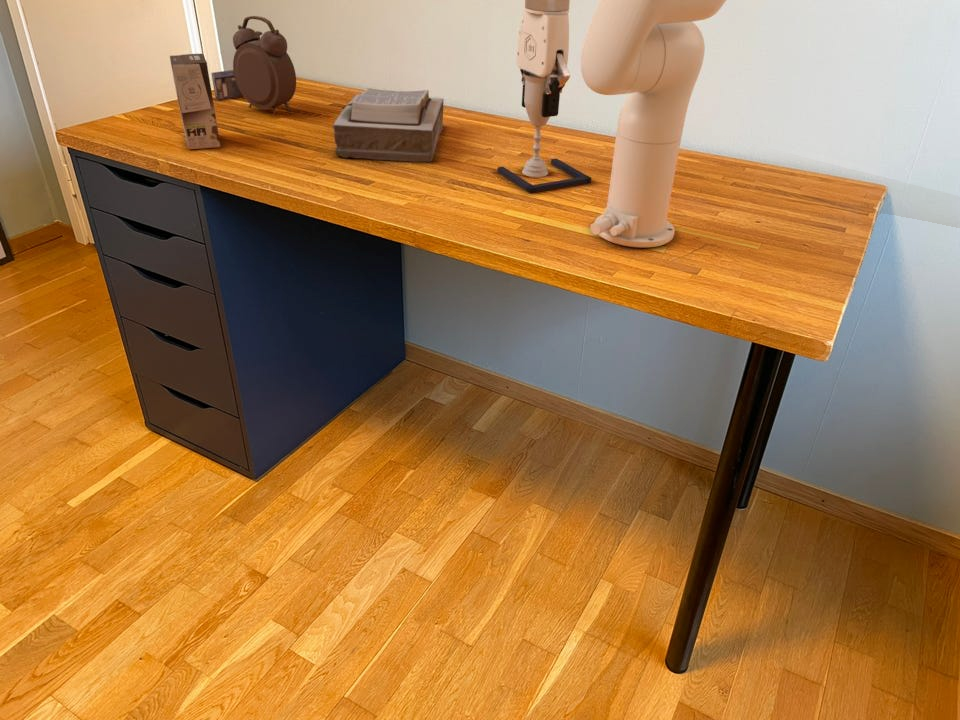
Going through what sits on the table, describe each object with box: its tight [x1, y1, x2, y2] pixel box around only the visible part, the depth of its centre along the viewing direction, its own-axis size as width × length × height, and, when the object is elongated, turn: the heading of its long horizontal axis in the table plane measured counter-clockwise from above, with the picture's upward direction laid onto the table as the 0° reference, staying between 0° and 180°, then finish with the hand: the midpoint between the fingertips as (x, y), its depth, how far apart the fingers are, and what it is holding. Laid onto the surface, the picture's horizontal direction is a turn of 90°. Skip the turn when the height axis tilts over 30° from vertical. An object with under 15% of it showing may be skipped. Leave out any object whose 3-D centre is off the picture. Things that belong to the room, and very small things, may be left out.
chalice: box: [521, 71, 556, 178], centre depth 135 cm, size 7×7×18 cm
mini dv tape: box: [211, 69, 244, 101], centre depth 177 cm, size 8×2×6 cm, turn 130°
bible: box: [332, 87, 445, 163], centre depth 150 cm, size 23×27×10 cm
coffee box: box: [169, 53, 221, 150], centre depth 145 cm, size 9×6×16 cm
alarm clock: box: [232, 15, 297, 115], centre depth 164 cm, size 15×7×20 cm, turn 58°
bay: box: [497, 158, 592, 194], centre depth 137 cm, size 12×13×1 cm
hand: (539, 110), depth 133 cm, fingers closed on chalice, 6 cm apart
